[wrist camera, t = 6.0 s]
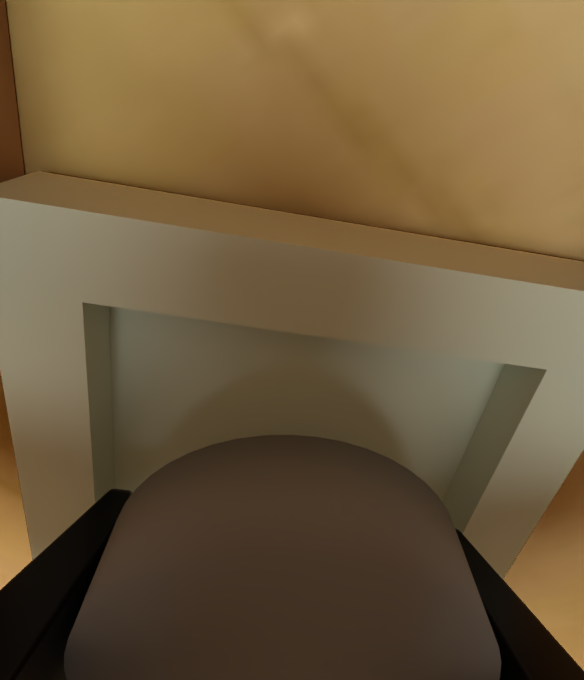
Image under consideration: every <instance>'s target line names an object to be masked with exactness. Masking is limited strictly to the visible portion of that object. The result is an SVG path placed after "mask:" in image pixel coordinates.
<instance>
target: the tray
mask: <svg viewBox="0 0 584 680" xmlns="http://www.w3.org/2000/svg"><path fill="white" fill-rule="evenodd" d="M0 372H1V378H2V384H3V390H4V395H5V401H6V407H7V413H8V419H9V425H10V431H11V436H12V442H13V448H14V454H15V460H16V466H17V471H18V477H19V483H20V489H21V495H22V501H23V507H24V512H25V518H26V524H27V530H28V536H29V542H30V547H31V553H32V559H33V560H34V559H35V558H36V557H37V556H38V555H39V554H40V553H41V552H42V551H43V550H45V549H46V548H47V547H48V546H49V545H50V544H51V543H52V542H53V541H54V540H55V539H57V538H58V537H59V536H60V535H61V534H62V533H63V532H64V531H65V530H66V529H67V528H69V527H70V526H71V525H72V524H73V523H74V522H75V521H76V520H77V519H78V518H79V517H80V516H82V515H83V514H84V513H85V512H86V511H87V510H88V509H89V508H90V507H91V506H92V505H94V504H95V503H96V502H97V501H98V500H99V499H100V498H101V497H102V496H103V495H104V494H106V493H107V492H108V491H109V490H111V489H124V490H130V491H131V492H132V493H133V492H134V491H135V489H136V488H137V487H138V486H140V485H141V484H142V483H143V482H144V481H145V480H146V479H147V478H148V477H149V476H150V475H152V474H153V473H155V472H156V471H158V470H159V469H160V468H162V467H163V466H165V465H166V464H168V463H170V462H172V461H174V460H176V459H178V458H180V457H182V456H184V455H186V454H188V453H190V452H193V451H195V450H198V449H201V448H204V447H207V446H209V445H212V444H217V443H221V442H225V441H229V440H234V439H239V438H246V437H254V436H262V435H300V436H313V437H321V438H326V439H332V440H337V441H343V442H346V443H350V444H353V445H356V446H360V447H363V448H366V449H369V450H371V451H374V452H376V453H378V454H381V455H383V456H385V457H388V458H390V459H392V460H393V461H395V462H397V463H399V464H400V465H402V466H404V467H405V468H407V469H409V470H410V471H411V472H413V473H414V474H415V475H417V476H418V477H419V478H420V479H422V480H423V481H424V482H425V483H426V484H427V485H428V486H429V487H430V488H431V489H432V490H433V491H434V492H435V493H436V494H437V495H438V497H439V498H440V500H441V501H442V503H443V504H444V506H445V507H446V509H447V510H448V512H449V515H450V517H451V520H452V522H453V525H454V527H455V528H456V529H458V530H459V531H460V532H461V533H462V534H463V535H464V536H465V537H466V538H467V539H468V540H469V542H470V543H471V544H472V545H473V546H474V547H475V548H476V550H477V551H478V552H479V553H480V554H481V555H482V556H483V557H484V559H485V560H486V561H487V562H488V563H489V564H490V565H491V567H492V568H493V569H494V570H495V571H496V572H497V573H498V574H499V576H500V577H501V578H502V579H503V578H504V577H505V575H506V573H507V572H508V570H509V569H510V567H511V565H512V564H513V562H514V561H515V559H516V557H517V556H518V554H519V553H520V551H521V549H522V548H523V546H524V545H525V543H526V541H527V540H528V538H529V537H530V535H531V533H532V532H533V530H534V529H535V527H536V525H537V524H538V522H539V520H540V519H541V517H542V516H543V514H544V512H545V511H546V509H547V508H548V506H549V504H550V503H551V501H552V500H553V498H554V496H555V495H556V493H557V492H558V490H559V488H560V487H561V485H562V484H563V482H564V480H565V479H566V477H567V476H568V474H569V472H570V471H571V469H572V467H573V466H574V464H575V463H576V461H577V459H578V458H579V456H580V455H581V453H582V451H583V450H584V262H583V261H577V260H571V259H565V258H559V257H553V256H547V255H541V254H535V253H529V252H523V251H517V250H511V249H505V248H499V247H493V246H487V245H481V244H475V243H469V242H463V241H457V240H451V239H445V238H439V237H433V236H427V235H421V234H415V233H409V232H403V231H397V230H391V229H385V228H379V227H373V226H367V225H361V224H355V223H348V222H342V221H336V220H330V219H324V218H318V217H312V216H306V215H300V214H294V213H288V212H282V211H276V210H270V209H264V208H258V207H252V206H246V205H240V204H234V203H228V202H222V201H216V200H210V199H204V198H198V197H192V196H186V195H180V194H174V193H168V192H162V191H156V190H150V189H144V188H138V187H132V186H126V185H120V184H114V183H108V182H102V181H96V180H90V179H83V178H77V177H71V176H65V175H59V174H53V173H47V172H41V171H36V172H33V173H30V174H26V175H23V176H20V177H17V178H14V179H11V180H8V181H5V182H2V183H0Z"/></svg>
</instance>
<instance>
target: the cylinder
mask: <svg viewBox="0 0 584 680" xmlns="http://www.w3.org/2000/svg"><path fill="white" fill-rule="evenodd" d="M64 671H65V674H66V678H67V680H499V679H500V672H501V657H500V651H499V646H498V643H497V641H496V638H495V635H494V633H493V630H492V627H491V625H490V622H489V619H488V616H487V614H486V611H485V608H484V606H483V603H482V600H481V597H480V595H479V592H478V589H477V587H476V584H475V581H474V578H473V576H472V573H471V570H470V568H469V565H468V562H467V560H466V557H465V554H464V551H463V549H462V546H461V543H460V541H459V538H458V535H457V532H456V530H455V527H454V525H453V522H452V520H451V517H450V515H449V512H448V510H447V509H446V507H445V506H444V504H443V503H442V501H441V500H440V498H439V497H438V495H437V494H436V493H435V492H434V491H433V490H432V489H431V488H430V487H429V486H428V485H427V484H426V483H425V482H424V481H423V480H422V479H420V478H419V477H418V476H417V475H415V474H414V473H413V472H411V471H410V470H409V469H407V468H405V467H404V466H402V465H400V464H399V463H397V462H395V461H393V460H392V459H390V458H388V457H385V456H383V455H381V454H378V453H376V452H374V451H371V450H369V449H366V448H363V447H360V446H356V445H353V444H350V443H346V442H343V441H337V440H332V439H326V438H321V437H313V436H300V435H262V436H254V437H246V438H239V439H234V440H229V441H225V442H221V443H217V444H212V445H209V446H207V447H204V448H201V449H198V450H195V451H193V452H190V453H188V454H186V455H184V456H182V457H180V458H178V459H176V460H174V461H172V462H170V463H168V464H166V465H165V466H163V467H162V468H160V469H159V470H158V471H156V472H155V473H153V474H152V475H150V476H149V477H148V478H147V479H146V480H145V481H144V482H143V483H142V484H141V485H140V486H138V487H137V488H136V489H135V491H134V492H133V493H132V495H131V496H130V497H129V499H128V500H127V501H126V502H125V504H124V506H123V508H122V510H121V512H120V514H119V516H118V518H117V520H116V523H115V525H114V528H113V530H112V533H111V535H110V537H109V540H108V542H107V545H106V547H105V550H104V552H103V555H102V557H101V559H100V562H99V564H98V567H97V569H96V572H95V574H94V576H93V579H92V581H91V584H90V586H89V589H88V591H87V594H86V596H85V598H84V601H83V603H82V606H81V608H80V611H79V613H78V616H77V618H76V620H75V623H74V625H73V628H72V630H71V633H70V635H69V638H68V641H67V645H66V649H65V653H64Z"/></svg>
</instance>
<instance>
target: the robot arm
mask: <svg viewBox="0 0 584 680" xmlns="http://www.w3.org/2000/svg"><path fill="white" fill-rule="evenodd" d="M131 495H132V492H131V491H130V490H124V489H111V490H109V491H108V492H107V493H106V494H104V495H103V496H102V497H101V498H100V499H99V500H98V501H97V502H96V503H95V504H94V505H92V506H91V507H90V508H89V509H88V510H87V511H86V512H85V513H84V514H83V515H82V516H80V517H79V518H78V519H77V520H76V521H75V522H74V523H73V524H72V525H71V526H70V527H69V528H67V529H66V530H65V531H64V532H63V533H62V534H61V535H60V536H59V537H58V538H57V539H55V540H54V541H53V542H52V543H51V544H50V545H49V546H48V547H47V548H46V549H45V550H43V551H42V552H41V553H40V554H39V555H38V556H37V557H36V558H35V559H34V560H33V561H31V562H30V563H29V564H28V565H27V566H26V567H25V568H24V569H23V570H22V571H21V572H20V573H18V574H17V575H16V576H15V577H14V578H13V579H12V580H11V581H10V582H9V583H8V584H6V585H5V586H4V587H3V588H2V589H1V590H0V680H67V678H66V674H65V671H64V653H65V649H66V645H67V641H68V638H69V635H70V633H71V630H72V628H73V625H74V623H75V620H76V618H77V616H78V613H79V611H80V608H81V606H82V603H83V601H84V598H85V596H86V594H87V591H88V589H89V586H90V584H91V581H92V579H93V576H94V574H95V572H96V569H97V567H98V564H99V562H100V559H101V557H102V555H103V552H104V550H105V547H106V545H107V542H108V540H109V537H110V535H111V533H112V530H113V528H114V525H115V523H116V520H117V518H118V516H119V514H120V512H121V510H122V508H123V506H124V504H125V502H126V501H127V500H128V499H129V497H130V496H131ZM455 530H456V532H457V535H458V538H459V541H460V543H461V546H462V549H463V551H464V554H465V557H466V560H467V562H468V565H469V568H470V570H471V573H472V576H473V578H474V581H475V584H476V587H477V589H478V592H479V595H480V597H481V600H482V603H483V606H484V608H485V611H486V614H487V616H488V619H489V622H490V625H491V627H492V630H493V633H494V635H495V638H496V641H497V643H498V646H499V651H500V657H501V672H500V679H499V680H584V671H583V670H582V669H581V667H580V666H579V665H578V664H577V663H576V662H575V661H574V660H573V658H572V657H571V656H570V655H569V654H568V653H567V652H566V650H565V649H564V648H563V647H562V646H561V645H560V644H559V643H558V641H557V640H556V639H555V638H554V637H553V636H552V635H551V633H550V632H549V631H548V630H547V629H546V628H545V627H544V626H543V624H542V623H541V622H540V621H539V620H538V619H537V618H536V616H535V615H534V614H533V613H532V612H531V611H530V610H529V609H528V607H527V606H526V605H525V604H524V603H523V602H522V601H521V599H520V598H519V597H518V596H517V595H516V594H515V593H514V591H513V590H512V589H511V588H510V587H509V586H508V585H507V584H506V582H505V581H504V580H503V579H502V578H501V577H500V576H499V574H498V573H497V572H496V571H495V570H494V569H493V568H492V567H491V565H490V564H489V563H488V562H487V561H486V560H485V559H484V557H483V556H482V555H481V554H480V553H479V552H478V551H477V550H476V548H475V547H474V546H473V545H472V544H471V543H470V542H469V540H468V539H467V538H466V537H465V536H464V535H463V534H462V533H461V532H460V531H459V530H458V529H456V528H455Z"/></svg>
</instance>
